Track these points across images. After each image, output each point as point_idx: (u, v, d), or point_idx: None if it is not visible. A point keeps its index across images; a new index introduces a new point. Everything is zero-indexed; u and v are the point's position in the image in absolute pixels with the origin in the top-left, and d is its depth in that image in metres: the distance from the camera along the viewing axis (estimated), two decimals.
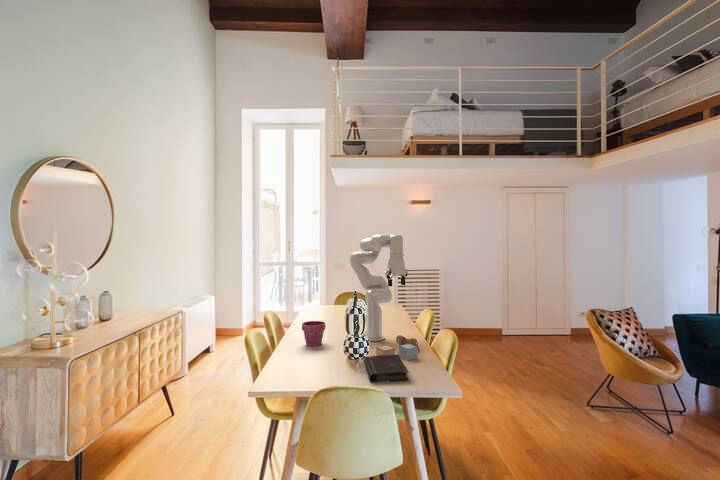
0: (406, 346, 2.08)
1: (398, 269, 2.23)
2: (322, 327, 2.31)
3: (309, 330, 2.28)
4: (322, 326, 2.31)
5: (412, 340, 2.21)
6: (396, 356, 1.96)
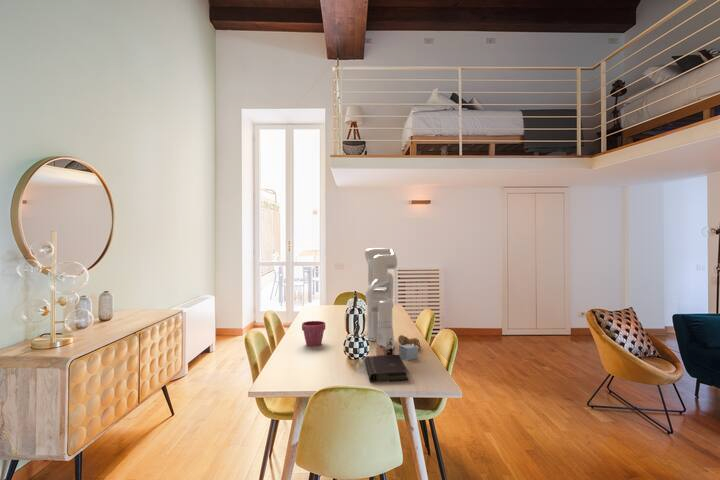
0: (406, 346, 2.08)
1: None
2: (322, 327, 2.31)
3: (309, 330, 2.28)
4: (322, 326, 2.31)
5: (414, 340, 2.21)
6: (396, 356, 1.96)
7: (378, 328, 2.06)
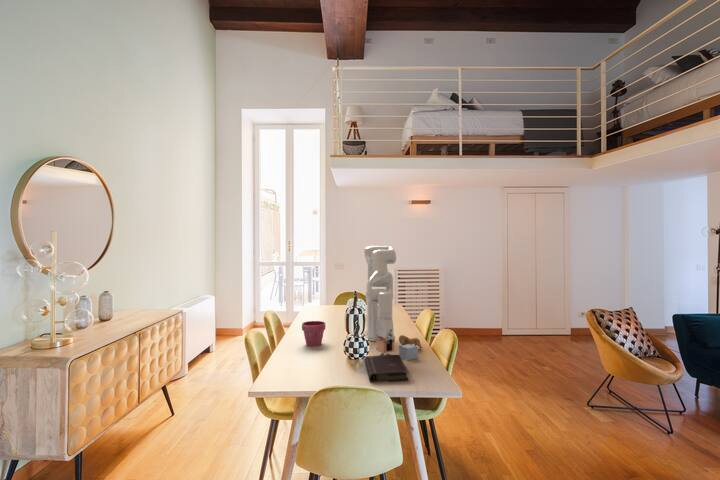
0: (406, 346, 2.08)
1: None
2: (322, 327, 2.31)
3: (309, 330, 2.28)
4: (322, 326, 2.31)
5: (415, 340, 2.22)
6: (397, 356, 1.96)
7: (378, 319, 2.06)
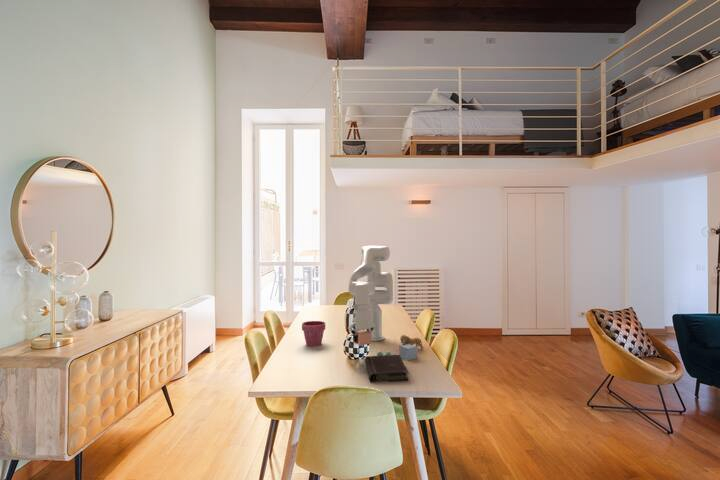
0: (406, 346, 2.08)
1: None
2: (322, 327, 2.31)
3: (309, 330, 2.28)
4: (322, 326, 2.31)
5: (416, 340, 2.22)
6: (397, 356, 1.96)
7: (360, 313, 1.99)
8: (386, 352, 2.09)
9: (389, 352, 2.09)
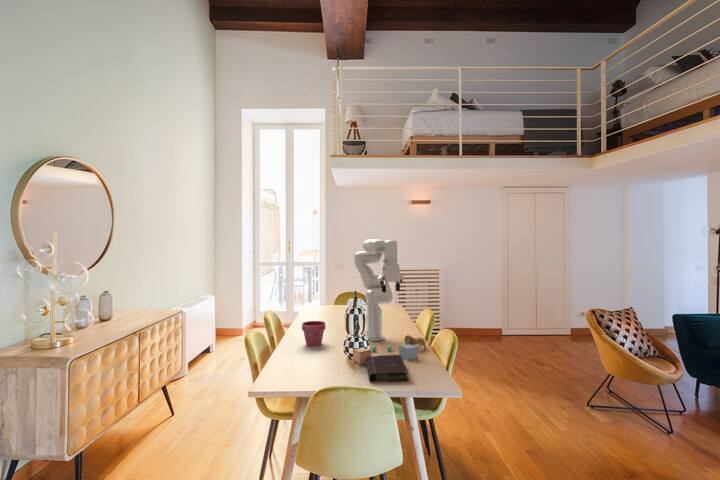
0: (406, 346, 2.08)
1: None
2: (322, 327, 2.31)
3: (309, 330, 2.28)
4: (322, 326, 2.31)
5: (420, 340, 2.22)
6: (398, 356, 1.96)
7: (389, 266, 2.19)
8: (387, 346, 2.21)
9: None
